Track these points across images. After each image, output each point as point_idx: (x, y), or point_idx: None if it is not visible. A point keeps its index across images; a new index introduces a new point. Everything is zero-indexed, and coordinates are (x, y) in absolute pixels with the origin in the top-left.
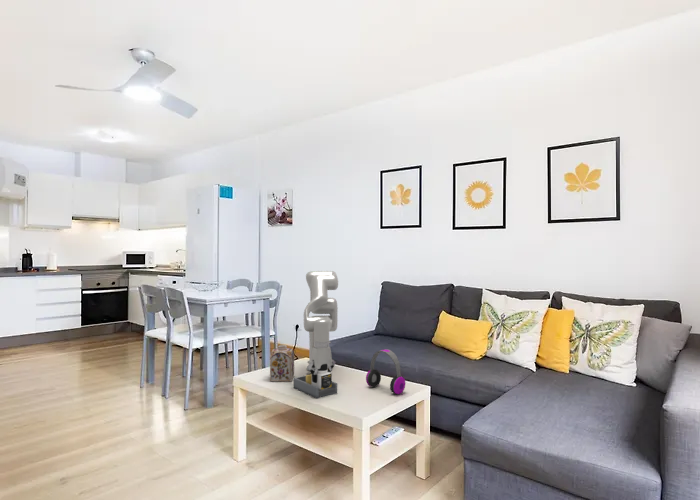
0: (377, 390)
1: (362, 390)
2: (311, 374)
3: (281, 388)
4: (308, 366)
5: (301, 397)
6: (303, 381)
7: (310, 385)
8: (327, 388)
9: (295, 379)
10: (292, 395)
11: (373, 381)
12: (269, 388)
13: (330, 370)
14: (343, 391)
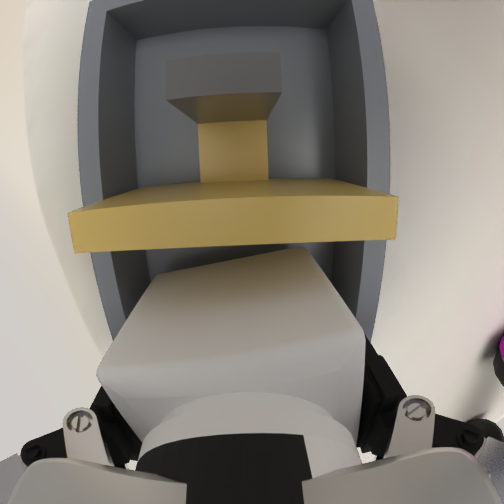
0: (472, 386)
1: (451, 366)
2: (169, 218)
3: (65, 21)
4: (1, 499)
5: (79, 281)
6: (94, 172)
7: (113, 337)
8: (332, 271)
9: (86, 37)
10: (45, 206)
11: None
12: (27, 7)
13: (385, 450)
14: (389, 340)
